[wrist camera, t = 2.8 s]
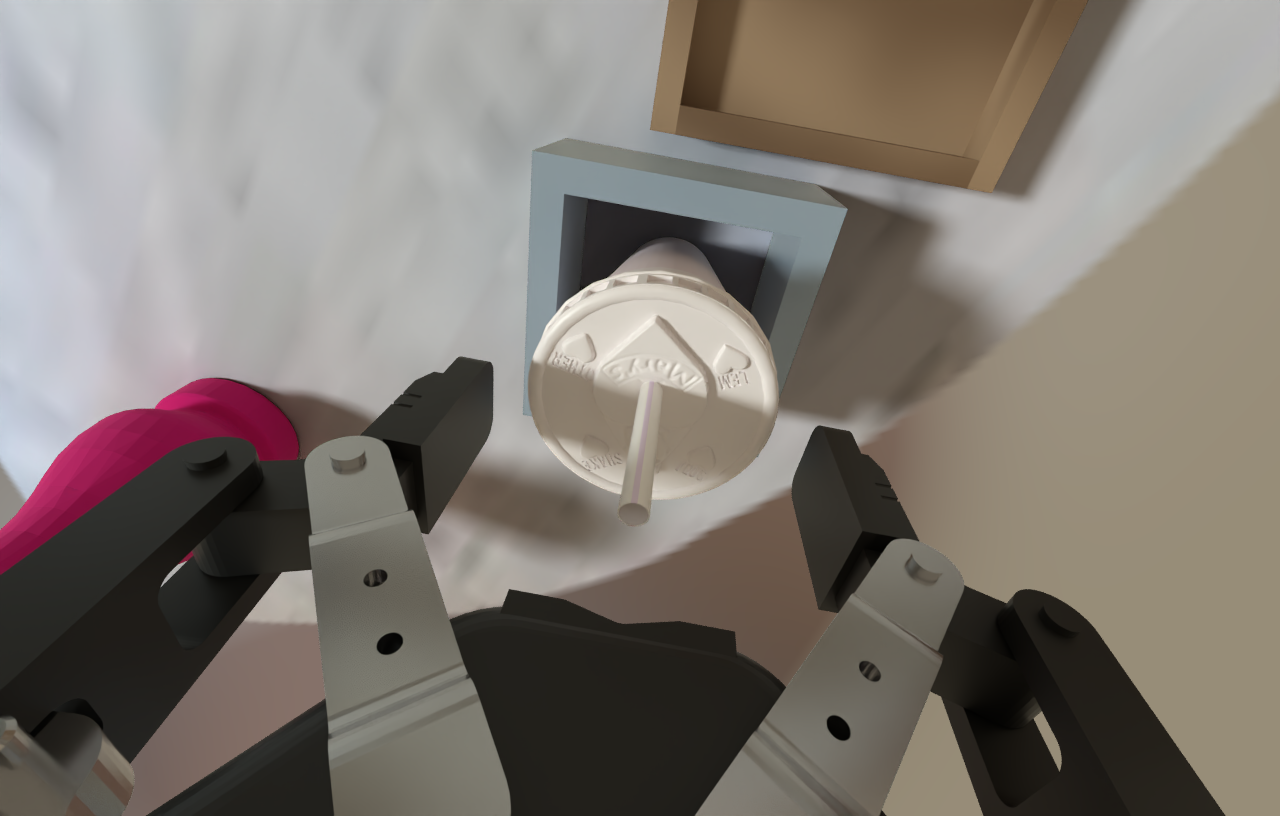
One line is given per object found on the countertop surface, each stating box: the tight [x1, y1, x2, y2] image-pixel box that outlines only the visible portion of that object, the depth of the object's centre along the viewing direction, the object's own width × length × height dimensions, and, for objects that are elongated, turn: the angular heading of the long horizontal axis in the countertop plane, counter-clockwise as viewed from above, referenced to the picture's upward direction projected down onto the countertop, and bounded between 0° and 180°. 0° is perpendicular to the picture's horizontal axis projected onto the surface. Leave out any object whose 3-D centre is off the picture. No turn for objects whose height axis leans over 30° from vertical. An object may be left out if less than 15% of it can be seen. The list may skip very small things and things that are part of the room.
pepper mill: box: [0, 378, 299, 575], centre depth 19 cm, size 7×7×20 cm
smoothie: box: [528, 237, 779, 526], centre depth 15 cm, size 6×6×14 cm
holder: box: [523, 138, 848, 457], centre depth 19 cm, size 9×9×4 cm
